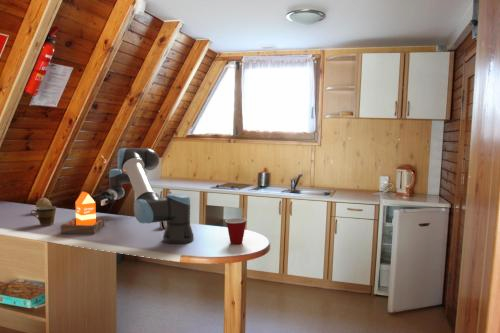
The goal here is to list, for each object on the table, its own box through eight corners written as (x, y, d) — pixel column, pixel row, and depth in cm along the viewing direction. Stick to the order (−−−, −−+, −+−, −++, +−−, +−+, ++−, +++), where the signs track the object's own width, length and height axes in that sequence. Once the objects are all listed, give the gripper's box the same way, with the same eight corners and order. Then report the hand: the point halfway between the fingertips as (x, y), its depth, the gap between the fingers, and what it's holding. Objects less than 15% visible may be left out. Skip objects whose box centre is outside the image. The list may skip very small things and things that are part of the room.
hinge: (168, 229, 225) (162, 212, 226) (161, 231, 227) (156, 214, 227) (183, 223, 241) (178, 207, 241) (177, 225, 243) (172, 209, 243)
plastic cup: (229, 239, 208) (230, 216, 207) (249, 241, 205) (250, 218, 204) (221, 244, 198) (221, 220, 197) (242, 247, 195) (242, 222, 193)
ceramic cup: (54, 222, 239) (54, 205, 238) (58, 225, 231) (57, 208, 230) (29, 224, 231) (29, 207, 230) (32, 228, 223) (31, 210, 222)
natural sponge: (34, 212, 263) (33, 197, 262) (49, 210, 269) (48, 195, 268) (38, 215, 256) (37, 199, 255) (53, 213, 262) (52, 197, 261)
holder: (94, 234, 214) (93, 225, 213) (61, 234, 213) (60, 225, 213) (104, 226, 231) (104, 218, 230) (74, 226, 230) (73, 218, 230)
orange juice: (81, 231, 216) (80, 194, 214) (75, 228, 222) (74, 191, 220) (96, 229, 221) (95, 192, 219) (90, 225, 228) (89, 190, 226)
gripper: (127, 203, 248) (111, 210, 227) (89, 201, 251) (69, 208, 230) (127, 190, 247) (111, 196, 226) (89, 189, 250) (69, 195, 229)
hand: (90, 202), depth 228 cm, fingers open, 13 cm apart
